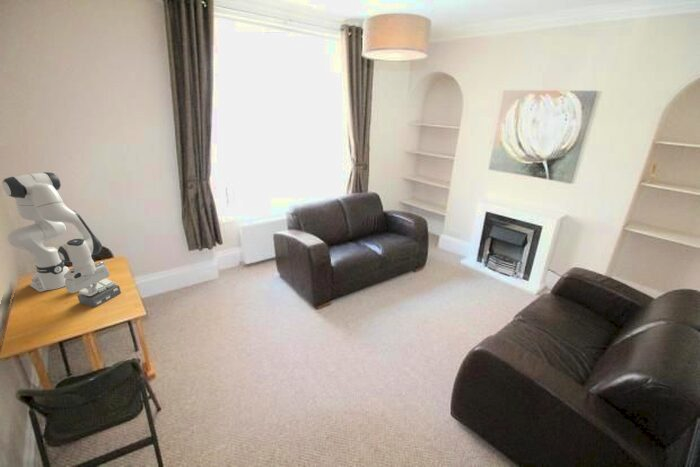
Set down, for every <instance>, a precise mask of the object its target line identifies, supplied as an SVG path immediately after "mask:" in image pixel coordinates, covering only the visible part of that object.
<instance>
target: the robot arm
mask: <svg viewBox="0 0 700 467" xmlns="http://www.w3.org/2000/svg"><path fill="white" fill-rule="evenodd" d="M59 178H60V177H59V176H57V175H56V174H55V173H53V172H48V171H47V172H36V173H28V174H21V175H17V176H9V177H6V178H4V179H3V181H2V188H3V190H4V192H5V193H6V194H7V195H8V196H9V197H12V198H14V200H15V204H16V207H17V211H18V214H19V217H21V218H22V219H24V220H28V221H32V222H33V221H34V223H33V224H29V225H26V226H22V227H18V228H15V229H14V230H12V231H9V233H8V235H7V241H8V243H9V244H10V245H11V246H12V247H15V248H16V249H17V248H18V249H22V250H24V251H26V252H28V253H29V254H30V255H31V256H32V257H33V261H34V262H35V264H36V265H34V266H35V267H36V272H34V274H32V278H31V282H30V283H29V287H31V288H33V289H35V290H36V291H37V292H46V291H51V290H52V291H53V290H58V289H61V288H63V287H65V289H66V292H68V293H71V294H75V293H78V292H79V291H80V290H82V289H84V288H85V289H87V290H88V291H89V293H92V292H94V291H96V286H97V283H98V281H101V280H103V279H105V278H106V279H108V278H109V277H110V276H111V274H110V271H109V269H108V267H107V264H106V263H105V262H103V261H100V262H99V263H96V264H95V261H94V259H93V258H92V256H95V255H98V254H100V252H101V251H102V249H103V245H102V242H101V241H100V240H99V238H97V236H96V235H95V234H94V233H93V232H92V230H91V228H90V227H89V225H87V223H86V222H85V220H84V219H83V218H82V216H80V214H79V213H78V212H77V211H76V210H72V209H70V208H69V207H68V205H66V204H65V202H64V201H63V198H62V197H61V195H60V193H59V190H60V188H61V186H62V184H61V180H60V179H59ZM65 223H67V224H71V225H73V226H74V227H75V228H76V229H77V231H78V232H79V234H80V235H81V236H82V237H83V238H73V239H70V240H68V241H67V242H66V243H65V244H61V245H60V246H59V247H58V248H56V247H54V246H50V245H44V243H45V242H47V241H51V240H55V239H56V238H59V237H61V236H63V235H65V234H66V232H67V227H66V224H65ZM64 262H67V263H71V264H72V268H71V269H69V267H68V266H66V265H65V263H64ZM90 285H93V286H92V288H91V289H90Z"/></svg>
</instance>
